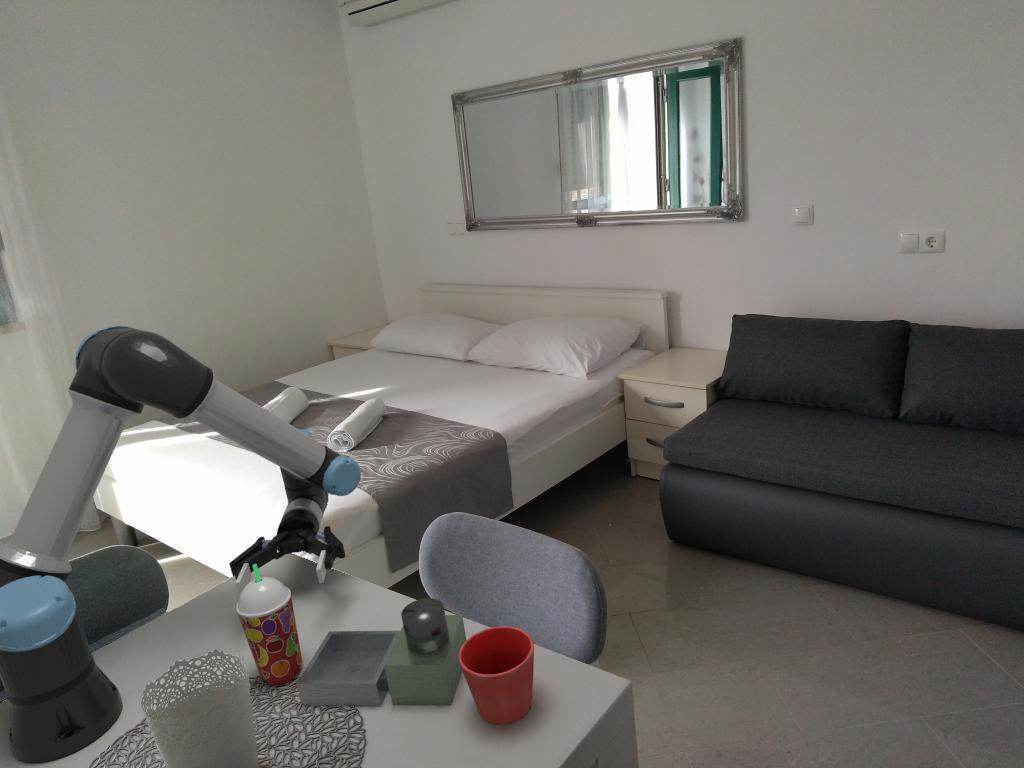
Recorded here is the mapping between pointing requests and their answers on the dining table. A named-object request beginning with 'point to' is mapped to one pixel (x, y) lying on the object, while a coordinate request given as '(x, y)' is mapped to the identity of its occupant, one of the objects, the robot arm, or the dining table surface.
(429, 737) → the dining table surface
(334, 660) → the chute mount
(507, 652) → the flower pot
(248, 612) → the smoothie
